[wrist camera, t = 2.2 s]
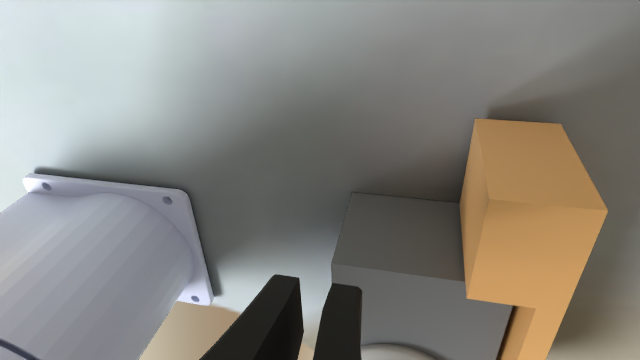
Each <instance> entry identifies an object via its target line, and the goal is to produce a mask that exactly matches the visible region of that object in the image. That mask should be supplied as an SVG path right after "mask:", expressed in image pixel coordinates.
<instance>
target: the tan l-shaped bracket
mask: <svg viewBox="0 0 640 360" xmlns="http://www.w3.org/2000/svg"><path fill="white" fill-rule="evenodd" d="M607 213H608V209H607V207H606V206H605V204H604V202H603V200H602V198H601V196H600V195H599V193H598V191H597V189H596V187H595V186H594V184H593V182H592V180H591V178H590V176H589V175H588V173H587V171H586V169H585V167H584V165H583V164H582V162H581V160H580V158H579V156H578V155H577V153H576V151H575V149H574V147H573V145H572V144H571V142H570V140H569V138H568V136H567V134H566V133H565V131H564V129H563V127H562V125H561V124H556V123H540V122H524V121H508V120H492V119H475V122H474V128H473V133H472V139H471V144H470V150H469V155H468V161H467V166H466V172H465V177H464V183H463V188H462V194H461V199H460V216H461V230H462V243H463V256H464V270H465V283H466V297H467V299H473V300H480V301H487V302H494V303H501V304H508V305H513V307H512V310H511V313H510V316H509V319H508V323H507V326H506V329H505V332H504V335H503V338H502V341H501V345H500V348H499V351H498V354H497V357H496V360H545V359H546V357H547V355H548V352H549V350H550V348H551V345H552V343H553V340H554V338H555V336H556V333H557V331H558V329H559V326H560V324H561V322H562V319H563V317H564V314H565V312H566V310H567V307H568V305H569V303H570V300H571V298H572V296H573V293H574V291H575V288H576V286H577V284H578V281H579V279H580V277H581V274H582V272H583V270H584V267H585V265H586V263H587V260H588V258H589V255H590V253H591V251H592V248H593V246H594V244H595V241H596V239H597V237H598V234H599V232H600V229H601V227H602V225H603V222H604V220H605V218H606V215H607Z"/></svg>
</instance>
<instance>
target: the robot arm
mask: <svg viewBox="0 0 640 360" xmlns="http://www.w3.org/2000/svg"><path fill="white" fill-rule="evenodd" d="M23 184H24V186H25V188H26V190H27V192H28V193H27V194H26V195H25V196H23V197H22V198H20V199H19V200H18V201H16V202H15V203H14V204H12V205H11V206H9V207H8V208H7V209H5V210H4V211H2V212H1V213H0V360H139V358H140V357H141V355H142V354H143V352H144V350H145V349H146V348H147V346H148V344H149V343H150V341H151V340H152V338H153V337H154V335H155V334H156V332H157V331H158V329H159V327H160V326H161V324H162V323H163V321H164V320H165V318H166V317H167V315H168V313H169V312H170V310H171V308H172V307H173V306H174V304H175V303H176V301H182V302H188V303H194V304H200V305H210V304H211V303H212V301H213V299H214V296H213V292H212V288H211V284H210V280H209V276H208V272H207V268H206V264H205V260H204V256H203V252H202V248H201V244H200V239H199V235H198V231H197V227H196V223H195V219H194V215H193V211H192V207H191V203H190V199H189V197H188V195H187V194H186V193H185V192H184V191H182V190H179V189H170V188H161V187H152V186H143V185H134V184H125V183H116V182H106V181H97V180H88V179H79V178H70V177H61V176H52V175H43V174H33V173H30V174H28V175H26V176H25V177H24V178H23ZM168 197H169V198H170V199H171V200H170V199H169V198H168ZM361 320H362V290H361V289H360V288H359V287H358V286H351V285H344V284H338V283H332V286H331V288H330V291H329V293H328V296H327V299H326V301H325V304H324V307H323V311H322V316H321V321H320V326H319V331H318V336H317V341H316V347H315V352H314V357H313V360H362V358H361V347H360V343H361ZM303 333H304V329H303V317H302V305H301V293H300V281H299V278H297V277H290V276H283V275H276V274H275V275H274V276H272V277H271V278H270V280H269V281H268V282H267V284H266V285H265V286H264V287H263V289H262V290H261V291H260V292H259V294H258V295H257V296H256V297H255V298H254V300H253V301H252V302H251V303H250V305H249V306H248V307H247V308H246V309H245V310H244V312H243V313H242V314H241V315H240V316H239V317H238V319H237V320H236V321H235V322H234V323H233V324H232V326H230V327H229V329H228V330H227V331H226V332H225V333H224V334H223V335H222V336H221V337H220V339H219V340H218V341H217V342H216V343H215V344H214V345H213V346H212V347H211V348H210V350H208V351H207V352H206V353H205V354H204V355H203V357H202V358H200V359H199V360H297V359H298V355H299V350H300V346H301V342H302V337H303Z"/></svg>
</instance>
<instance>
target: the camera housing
mask: <svg viewBox="0 0 640 360" xmlns="http://www.w3.org/2000/svg"><path fill="white" fill-rule="evenodd" d="M331 271H332V283H338V284H344V285H351V286H358V287H359V288H360V289H361V290H362V320H361V343H360V347H361V358H362V360H496V357H497V354H498V351H499V348H500V345H501V341H502V338H503V335H504V332H505V329H506V326H507V323H508V319H509V316H510V313H511V310H512V307H513V305H508V304H501V303H494V302H487V301H480V300H473V299H467V297H466V283H465V270H464V256H463V243H462V230H461V216H460V203H453V202H443V201H433V200H424V199H414V198H404V197H394V196H384V195H374V194H365V193H355V192H352V193H351V197H350V200H349V204H348V207H347V211H346V214H345V218H344V221H343V225H342V228H341V232H340V235H339V239H338V242H337V245H336V249H335V252H334V256H333V259H332V263H331Z"/></svg>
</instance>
